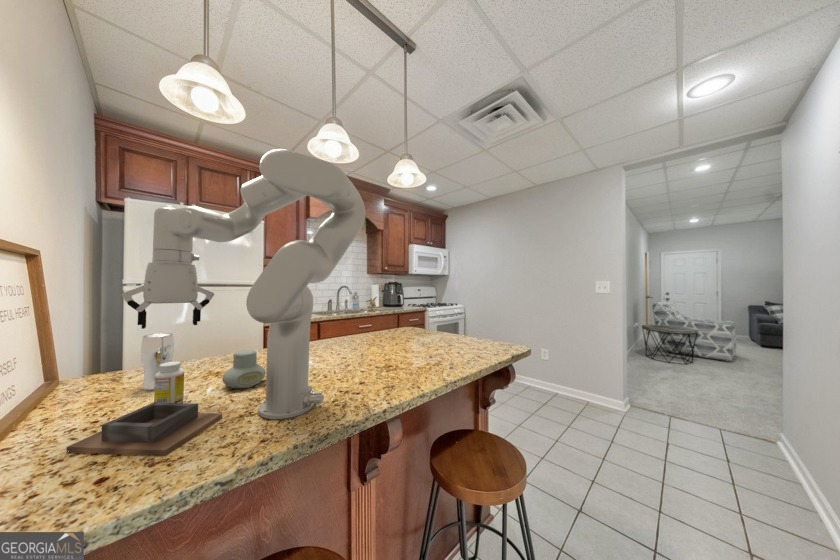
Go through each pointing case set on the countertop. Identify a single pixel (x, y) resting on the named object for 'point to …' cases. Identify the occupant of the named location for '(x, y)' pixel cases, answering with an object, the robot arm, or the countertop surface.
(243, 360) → the air freshener
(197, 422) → the tray
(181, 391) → the supplement bottle
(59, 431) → the countertop surface
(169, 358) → the beer glass
